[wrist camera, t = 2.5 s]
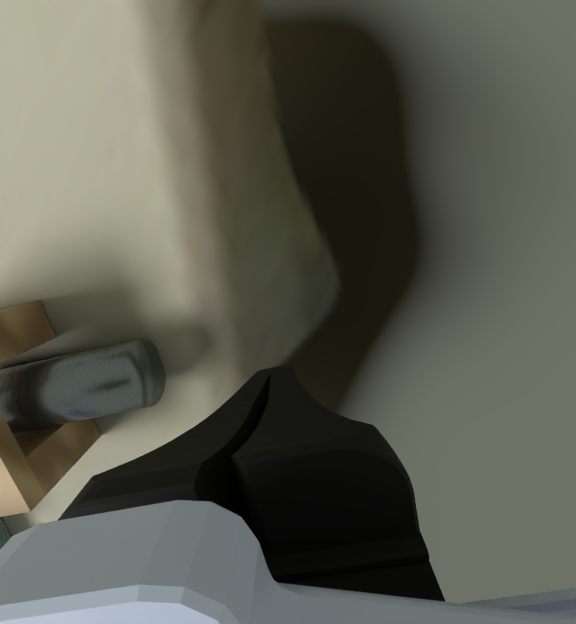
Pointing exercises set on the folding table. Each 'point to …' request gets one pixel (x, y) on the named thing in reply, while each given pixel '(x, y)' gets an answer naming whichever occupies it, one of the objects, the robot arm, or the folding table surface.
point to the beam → (40, 442)
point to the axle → (81, 386)
